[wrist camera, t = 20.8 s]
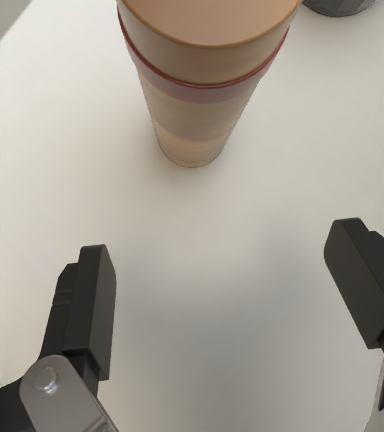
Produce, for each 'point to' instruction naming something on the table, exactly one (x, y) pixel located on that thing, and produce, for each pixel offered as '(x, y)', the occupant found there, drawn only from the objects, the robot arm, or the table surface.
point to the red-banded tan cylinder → (201, 65)
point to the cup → (338, 6)
